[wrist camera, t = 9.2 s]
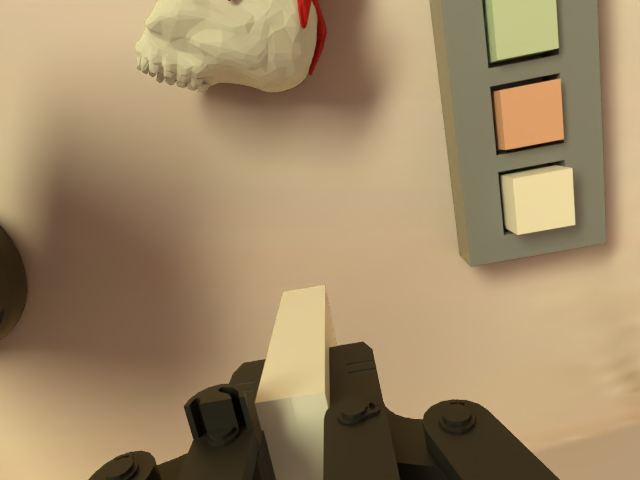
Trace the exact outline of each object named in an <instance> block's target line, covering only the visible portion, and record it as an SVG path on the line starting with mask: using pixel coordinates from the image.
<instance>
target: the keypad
mask: <svg viewBox="0 0 640 480" xmlns="http://www.w3.org/2000/svg"><path fill="white" fill-rule="evenodd" d="M483 1H484V0H430V8H431V17H432V25H433V33H434V42H435V50H436V59H437V67H438V76H439V84H440V92H441V101H442V109H443V118H444V126H445V135H446V143H447V151H448V160H449V168H450V177H451V185H452V194H453V202H454V210H455V219H456V227H457V236H458V244H459V253H460V256H461V257H462V258H463V259H464V260H465V261H466V262H467V263H468V264H469V265H470V266H477V265H483V264H488V263H494V262H500V261H506V260H511V259H517V258H523V257H529V256H534V255H540V254H546V253H552V252H558V251H563V250H569V249H575V248H581V247H586V246H592V245H598V244H604V243H606V220H605V193H604V166H603V139H602V112H601V85H600V58H599V31H598V4H597V0H556V8H557V25H558V43H559V48H558V49H555V50H552V51H549V52H546V53H543V54H538V55H533V56H528V57H523V58H518V59H513V60H508V61H502V62H497V63H492V64H488V59H487V48H486V38H485V27H484V16H483V5H482V2H483ZM560 78H561V95H562V113H563V130H564V139H562V140H556V141H551V142H546V143H540V144H535V145H530V146H524V147H519V148H514V149H508V150H501V149H496V145H495V134H494V124H493V113H492V102H491V92H494V91H499V90H504V89H509V88H514V87H519V86H524V85H529V84H534V83H540V82H545V81H550V80H555V79H560ZM552 165H558V166H564V167H570V168H572V170H573V189H574V207H575V225H572V226H566V227H560V228H555V229H549V230H543V231H538V232H532V233H526V234H521V235H517V234H515V233H513V232H511V231H510V230H508V229H506V228H505V226H504V215H503V204H502V194H501V183H500V175H503V174H509V173H514V172H520V171H525V170H531V169H536V168H541V167H547V166H552Z"/></svg>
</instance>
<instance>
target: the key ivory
mask: <svg viewBox="0 0 640 480" xmlns="http://www.w3.org/2000/svg"><path fill="white" fill-rule="evenodd" d="M500 183H501V194H502V204H503V215H504V226H505V228H506V229H508V230H510V231H511V232H513V233H515V234H517V235H521V234H526V233H532V232H538V231H543V230H549V229H555V228H560V227H566V226H572V225H575V207H574V189H573V170H572V168H570V167H564V166H558V165H552V166H547V167H541V168H536V169H531V170H525V171H520V172H514V173H509V174H503V175H500Z"/></svg>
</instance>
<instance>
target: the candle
mask: <svg viewBox="0 0 640 480" xmlns="http://www.w3.org/2000/svg"><path fill="white" fill-rule="evenodd" d="M145 26H146V29H145V32H144V34H143V36H142V37H141V39H140V40H139V41H138V42H137V44H136V49H135V50H136V53H137V55H138V57H137V69H139V70H142V71H143V73H145V74H147V73H148V71H149V75H150V76H152V77H154V76H155V75H156V73H158V75H157V79H156V80H157V81H158V82H159V83H161V82H163V80H164V79H165V77H166V81H165V82H166V83H168V84H169V85H173V84H174V83H175V82H176V81H177V86H179V87H182V88H184V87H187V88H188V89H190V90H194V91H195V90H196V89H198V92H204V91H207V90H208V88H209V86H212V85H215V84H218V83H235V84H242V85H246V86H251V87H254V88H257V89H259V90H262V91H266V92H281V91H285V90H288V89H291V88H294V87H295V86H297V85H298V84H300V83H301V82H302V81H303V80H304V79H305V78H306V76H307V74H308V72H309V75H312V73H313V71H314V68H315V66H316V64H317V62H318V60H319V57H320V55H321V52H322V49H323V46H324V42H325V38H326V25H325V22H324V19H323V16H322V13H321V10H320V7H319V4H318V0H159V1H158V2H157V4H156V6H155V8H154V10H153V12H152V13H151V15H150V16H149V17H148V19H147V20H146V21H145Z"/></svg>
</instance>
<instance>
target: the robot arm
mask: <svg viewBox="0 0 640 480" xmlns="http://www.w3.org/2000/svg"><path fill="white" fill-rule="evenodd" d="M26 291H27V290H26V276H25V271H24V267H23V264H22V261H21V258H20V256H19V254H18V252H17V250H16V248H15V246H14V244H13V243H12V241H11V240H10V238H9V237H8V236H7V234H6V233H5V232H4V231H3V230H2V229H1V227H0V339H1V338H3V337H4V336H5V335H6V334H8V332H9V331H10V330H11V329H12V328H13V327H14V326H15V324H16V323H17V321H18V320H19V318H20V316H21V313H22V311H23V308H24V305H25V300H26ZM184 409H185V412H186V416H187V419H188V422H189V426H190V429H191V433H192V436H193V439H194V440H193V442H192V445H191V447H190V450H189V452H188V453H187V454H185V455H182V456H180V457H178V458H175V459H173V460H170V461H167V462H165V463H162V464H160V465H156V462H155V458H154V457H153V456H152V455H151V454H150V453H149V452H144V451H135V452H129V453H126V454H124V455H120V456H118V457H116V458H114V459H113V460H111V461H109V462H108V463H106V464H104V465H103V466H102V467H101V468H100V469H99V470H98V471H96V472H95V473H94V474H93V475H92V476H91V477H90V479H89V480H559V479H558V477H556V476H555V475H554V474H553V473H552V472H551V471H550V470H549V469H548V468H547V467H546V466H545V465H544V464H543V463H542V462H541V461H540V460H539V459H538V458H537V457H536V456H535V455H534V454H533V453H532V452H531V451H530V450H529V449H528V448H526V447H525V446H524V445H523V444H522V443H521V442H520V441H519V440H518V439H517V438H516V437H515V436H514V435H513V434H512V433H511V432H510V431H509V430H508V429H507V428H506V427H505V426H504V425H503V424H502V423H501V422H500V421H499V420H498V419H496V418H495V417H494V416H493V415H492V414H491V413H490V412H489V411H488V410H487V409H485V408H484V407H482V406H481V405H479V404H477V403H474V402H471V401H467V400H454V399H453V400H448V401H442V402H439V403H437V404H435V405H433V406H431V407H430V408H429V409H428V410H427V411H426V412H425V414H424V418H423V420H422V419H411V418H404V417H402V416H399V415H396V414H394V413H393V412H391V411H389V409H388V408H387V407H386V406H385V404H384V402H383V398H382V394H381V389H380V384H379V379H378V374H377V370H376V365H375V360H374V355H373V351H372V349H371V348H370V347H369V346H368V345H367V344H365V343H364V342H358V343H352V344H346V345H340V346H337V343H336V338H335V333H334V328H333V323H332V318H331V313H330V308H329V303H328V298H327V293H326V287H325V285H320V286H315V287H309V288H303V289H298V290H292V291H286V292H283V294H282V298H281V302H280V306H279V310H278V314H277V317H276V321H275V325H274V329H273V333H272V337H271V341H270V345H269V349H268V353H267V357H266V359H264V360H258V361H252V362H246V363H243V364H242V365H241V366H240V367H239V368H238V369H237V370H236V371H235V372H234V373H233V375H232V378H231V380H230V383H229V384H220V385H216V386H213V387H209V388H207V389H205V390H203V391H201V392H199V393H197V394H196V395H194V396H193V397H192V398H190V399H189V400H188V402H187V403H186V404H185V406H184Z"/></svg>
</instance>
